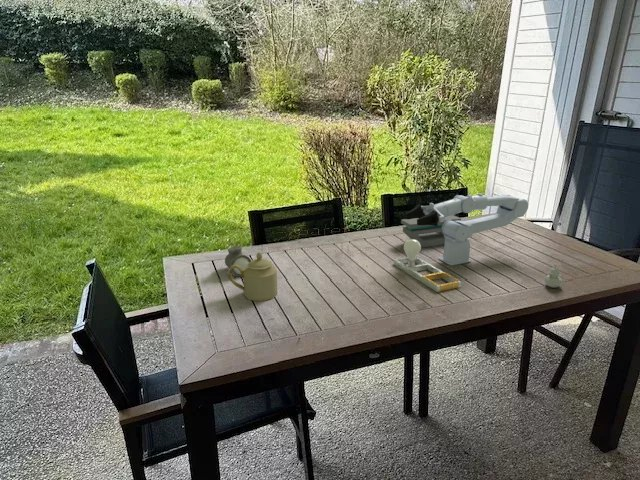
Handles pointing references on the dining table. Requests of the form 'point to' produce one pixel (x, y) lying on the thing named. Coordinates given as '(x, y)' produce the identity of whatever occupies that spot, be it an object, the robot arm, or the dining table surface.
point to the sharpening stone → (426, 231)
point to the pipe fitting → (236, 260)
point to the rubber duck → (553, 278)
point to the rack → (428, 278)
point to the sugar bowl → (257, 279)
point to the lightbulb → (412, 250)
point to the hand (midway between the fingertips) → (411, 219)
